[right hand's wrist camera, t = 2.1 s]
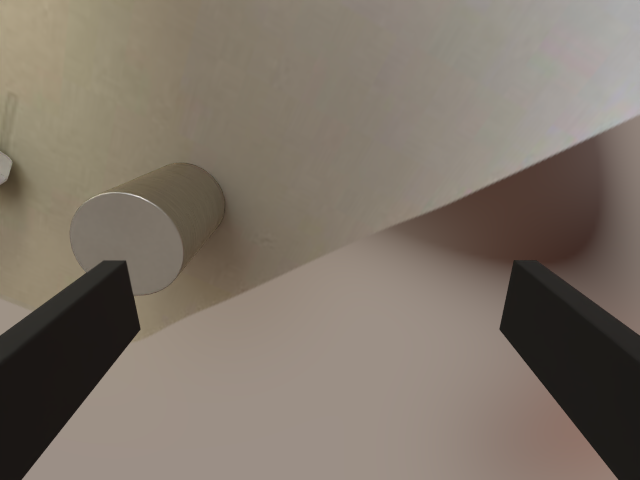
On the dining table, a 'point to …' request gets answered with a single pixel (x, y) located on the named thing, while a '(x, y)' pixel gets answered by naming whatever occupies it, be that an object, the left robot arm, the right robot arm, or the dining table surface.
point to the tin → (149, 224)
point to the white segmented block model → (4, 167)
